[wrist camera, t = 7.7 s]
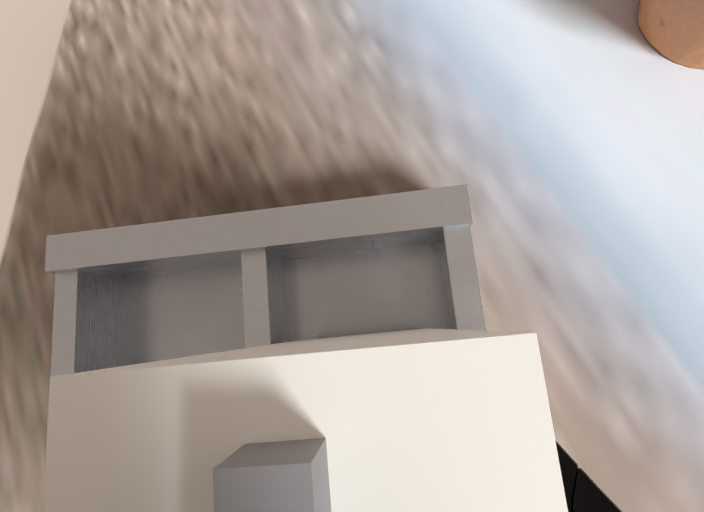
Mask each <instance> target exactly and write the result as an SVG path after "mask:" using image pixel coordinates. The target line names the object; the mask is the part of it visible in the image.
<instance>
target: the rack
mask: <svg viewBox="0 0 704 512" xmlns="http://www.w3.org/2000/svg"><path fill="white" fill-rule="evenodd" d="M471 224H472V216H471V210H470V203H469V197H468V190H467V184H466V185H458V186H450V187H442V188H433V189H425V190H417V191H409V192H400V193H392V194H384V195H376V196H368V197H359V198H351V199H343V200H335V201H327V202H318V203H310V204H302V205H294V206H286V207H277V208H269V209H261V210H253V211H244V212H236V213H228V214H220V215H212V216H203V217H195V218H187V219H179V220H171V221H162V222H154V223H146V224H138V225H129V226H121V227H113V228H105V229H97V230H88V231H80V232H72V233H64V234H56V235H47V236H46V255H45V272H50V273H55V288H54V309H53V331H52V353H51V375H50V377H51V376H58V375H65V374H72V373H79V372H86V371H93V370H99V369H106V368H113V367H120V366H127V365H134V364H140V363H147V362H154V361H161V360H168V359H175V358H182V357H188V356H195V355H202V354H209V353H216V352H223V351H229V350H236V349H243V348H250V347H257V346H264V345H271V344H277V343H284V342H291V341H298V340H305V339H315V338H326V337H336V336H347V335H358V334H369V333H379V332H390V331H401V330H412V329H422V328H433V329H456V330H480V331H486V329H485V322H484V316H483V309H482V303H481V296H480V290H479V283H478V276H477V270H476V263H475V257H474V250H473V244H472V237H471V230H470V226H471Z"/></svg>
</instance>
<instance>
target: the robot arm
mask: <svg viewBox="0 0 704 512" xmlns="http://www.w3.org/2000/svg"><path fill="white" fill-rule="evenodd" d="M555 441H556V440H555ZM556 447H557V452H558V458H559V463H560V469H561V475H562V480H563V486H564V492H565V497H566V503H567V508H568V512H622V511H621V510H620V509H619V508H618V507H617V506H616V505H615V504H614V503H613V502H612V501H611V500H610V499H609V498H608V497H607V496H606V495H605V494H604V492H603V491H602V490H601V489H600V488H599V487H598V486H597V485H596V484H595V483H594V482H593V481H592V480H591V479H590V477H589V476H588V475H587V474H586V473H585V472H584V471H583V470H582V469H581V468H578V465H577V463H576V462H575V461H574V460H573V459H572V458H571V457H570V456H569V455H568V454H567V452H566V451H565V450H564V449H563V448H562V447H561V446H560V445H559V444H558V443H557V442H556Z"/></svg>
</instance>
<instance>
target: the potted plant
mask: <svg viewBox="0 0 704 512" xmlns="http://www.w3.org/2000/svg"><path fill="white" fill-rule="evenodd" d="M637 22H638V25H639V27H640V29H641V32H642V33H643V35H644V36H645V38H646V39H647V41H648V42H649V43H650V44H651V45H652V46H653V47H654V48H655V49H656V50H657V51H658V52H659V53H660V54H661V55H663V56H665V57H666V58H668V59H670V60H671V61H673V62H675V63H677V64H681V65H684V66H687V67H690V68H698V69H704V0H640V4H639V12H638V20H637Z"/></svg>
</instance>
